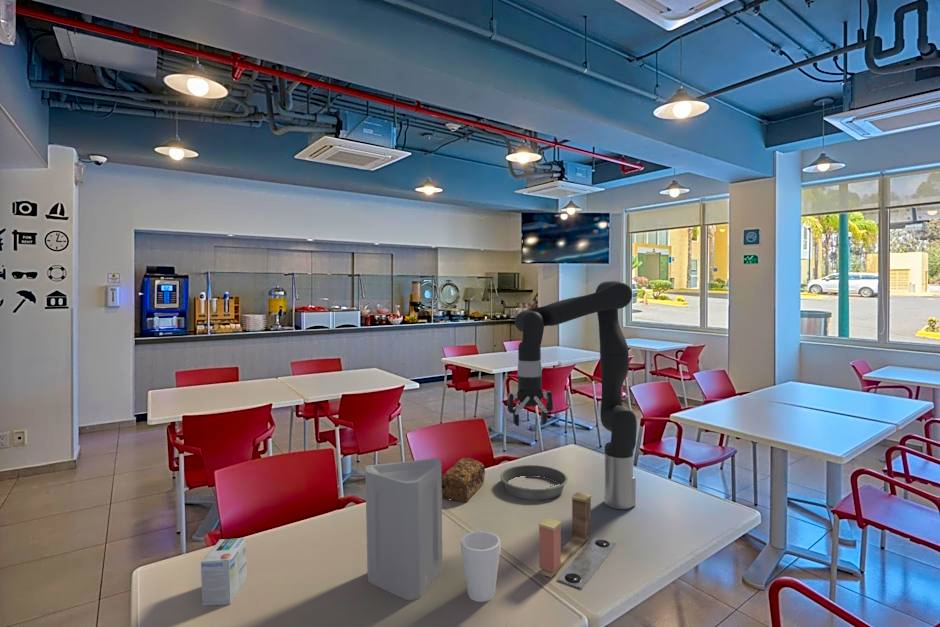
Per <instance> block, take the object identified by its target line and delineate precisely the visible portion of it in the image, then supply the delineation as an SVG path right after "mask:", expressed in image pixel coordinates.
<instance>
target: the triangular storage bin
mask: <svg viewBox="0 0 940 627" xmlns="http://www.w3.org/2000/svg"><path fill="white" fill-rule="evenodd" d="M364 471H365V474H364V475H365V511H366V512H365V516H366V517H365V519H366V520H365V521H366V523H365V524H366V564H367V566H366V569H367V572H366V573H367V580H368V582H369V583H370V584H372V585H373V586H375V587H378V588H380V589H382V590H383V591H386V592H388V593H390V594H392V595H394V596H397V597H399V598H400V599H403V600H405V601H413V600H414V601H415V600H418V599H420V598H421V597H422V596H423V595H424V594H425V593H426V591H428V589H429V588H430V587H431V585H432V584H433V582H434V581H435V580H436V578H438V576H440V574H441V572H442V571H443V569H444V568H443V567H444V566H443V562H444V561H443V559H444V558H443V557H444V556H443V504H442V503H443V500H442V499H443V497H442V479H441V478H442V461H441V460H440V459H439V458H435V457H434V458H427V459H426V458H424V459H417V460H408V461H398V462H397V461H395V462H389V463H379V464H378V463H377V464H371V465H366V466H365V470H364Z"/></svg>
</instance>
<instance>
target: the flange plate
mask: <svg viewBox="0 0 940 627" xmlns="http://www.w3.org/2000/svg"><path fill="white" fill-rule="evenodd" d="M616 546H617V543H616V542H612V541H609V540H606V539H603V538H600V537H599V538H598V537H593V538H592V539H591V541H590V542H589V543H588V544H587V545H586V546H585V548H583V549H582V551H581V552H580V553H579V554H578V555H577V556H576V558H574V559H573V560H572V561H571V563H570V564H569V565H568V566H567V567H566V568H564V571H563V572H562V573H561V574H560V575H559V576H558V577H557V579H556V580H559V581H558V582H560V581H562V582H561V583H563V582H565V583H564V584H566V583H568V584H571V585H574V586H577V587H579V588H582V587H583V586H584V585H586V584H587V583H588V582H589V580H591V578H592V577H591V576H593V575H594V574H595V573H596V572H595V571H597V570H599V568H600V567H601V565H602V564H603V563H604V561H605V560H606V559H607V558H608V556H609V555H610V554H611V552H612V551H613V550H614V549H615V548H616ZM599 566H600V567H599ZM590 577H591V578H590ZM587 581H588V582H587ZM586 582H587V583H586ZM585 583H586V584H585ZM568 584H567V585H568ZM571 585H570V586H571ZM574 586H573V587H574ZM577 587H576V588H577ZM584 587H585V586H584ZM584 587H583V588H584ZM579 588H578V589H579ZM583 588H582V589H583Z"/></svg>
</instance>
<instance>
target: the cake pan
mask: <svg viewBox="0 0 940 627" xmlns="http://www.w3.org/2000/svg"><path fill="white" fill-rule="evenodd" d="M520 476H540V477H545V478H544V479H546V478H548V479H547V480H550V479H551V480H550V481H553V480H554V481H553V482H555V481H556V482H555V483H556V484H558V483H559V484H560V485H559V486H556V487H552V486H553V485H552V486H550V488H546V489H529V488H522V487H518V486H514V485H512V484H509V483H508V481H509V480H511V479H513V478H515V477H520ZM499 477H500V480H501V482H503V486H504V489H506V490H505V491H506V492H507V493H508V494H510V495H511V494H512V496H514V497H516V496H517V497H516V498H519V497H520V499H525V500H532V499H533V500H535V501H537V500H540V501H541V499H542V500H548V499H553V498H556V497H558V496H559V495H561V494H562V493H563V491H564V487H565V485H566V484H567V483H568V480H569V479H568V476H567V475H566V474H565V473H564V472H563V471H562V470H560V469H557V468H553V467H550V466H546V465H538V464H522V465H515V466H512V467H508V468H506V469H504V470H503V471H502V472H501V473H500V476H499ZM540 477H539V478H540ZM550 485H551V484H550ZM554 486H555V485H554ZM551 487H552V488H551Z"/></svg>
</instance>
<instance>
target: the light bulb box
mask: <svg viewBox="0 0 940 627" xmlns="http://www.w3.org/2000/svg"><path fill="white" fill-rule="evenodd" d="M246 540H247V539H246V538H245V537H240V538H239V537H238V538H224V539H223V538H222V539H218V541H217V542H216V544H215V545H214V546H213V547H212V549H211V550H210V551H209V553H207V555H206V556H205V557H204V558H203V559H202V560H201V561H200V576H201V598H202V599H201V601H202V604H201V605H202V606H203V607H205V606H223V605H224V606H225V605H231V604H232V603H233V600H234V599H235V598H236V596H237V595H238V593H239V592H240V590H241V588H242V587H243V585H244V584H245V582H246V581H247V579H248V576H247V575H248V574H247V573H248V572H247V570H248V569H247V541H246Z"/></svg>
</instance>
